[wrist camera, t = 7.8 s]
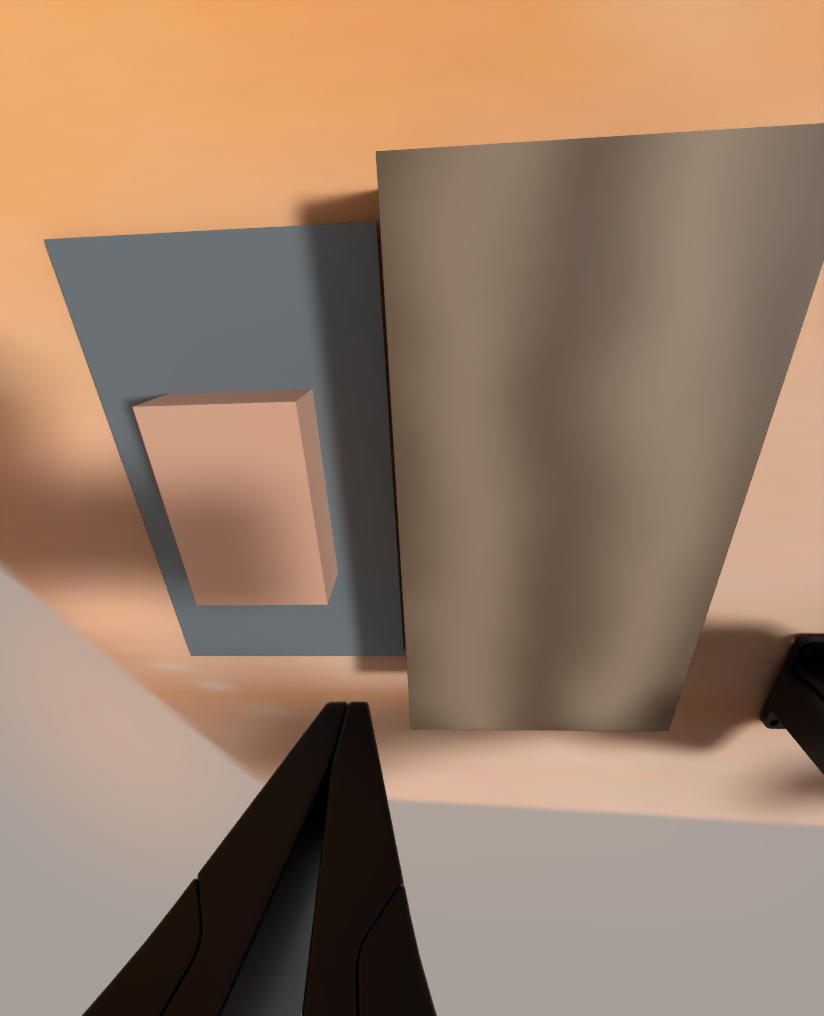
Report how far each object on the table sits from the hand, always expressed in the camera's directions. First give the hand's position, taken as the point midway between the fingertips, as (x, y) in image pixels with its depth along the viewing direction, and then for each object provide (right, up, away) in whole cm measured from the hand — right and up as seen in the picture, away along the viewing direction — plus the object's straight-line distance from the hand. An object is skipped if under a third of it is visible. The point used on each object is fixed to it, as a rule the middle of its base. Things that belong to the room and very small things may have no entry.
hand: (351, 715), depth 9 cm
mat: (-6, +5, +11) cm, 13 cm away
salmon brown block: (-6, +4, +9) cm, 11 cm away
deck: (+7, +5, +10) cm, 14 cm away
